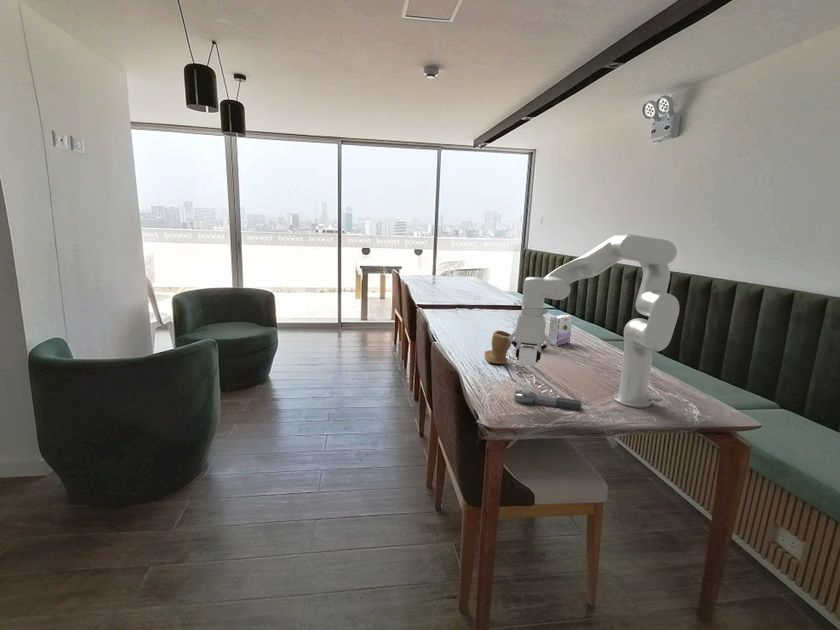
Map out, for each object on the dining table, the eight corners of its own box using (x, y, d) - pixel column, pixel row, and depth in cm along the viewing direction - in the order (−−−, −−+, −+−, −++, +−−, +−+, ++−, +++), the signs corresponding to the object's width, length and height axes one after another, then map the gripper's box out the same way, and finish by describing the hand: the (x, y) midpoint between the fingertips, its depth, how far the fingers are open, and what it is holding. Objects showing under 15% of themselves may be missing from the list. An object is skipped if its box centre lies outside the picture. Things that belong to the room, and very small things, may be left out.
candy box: (561, 341, 250) (563, 313, 247) (570, 343, 246) (572, 315, 243) (547, 344, 241) (550, 316, 238) (556, 346, 237) (559, 317, 234)
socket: (536, 361, 156) (537, 346, 154) (535, 366, 150) (536, 350, 149) (519, 359, 157) (521, 344, 156) (518, 364, 152) (519, 348, 151)
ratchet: (580, 404, 154) (582, 387, 153) (581, 412, 147) (583, 395, 145) (515, 395, 161) (516, 379, 160) (513, 402, 154) (514, 385, 153)
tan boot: (512, 366, 198) (514, 335, 195) (487, 365, 198) (489, 334, 195) (507, 357, 213) (509, 328, 210) (484, 356, 213) (485, 327, 210)
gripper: (557, 312, 151) (552, 360, 154) (509, 308, 156) (505, 354, 160) (557, 316, 144) (552, 366, 147) (506, 311, 149) (502, 360, 153)
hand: (527, 360), depth 153 cm, fingers closed on socket, 6 cm apart
